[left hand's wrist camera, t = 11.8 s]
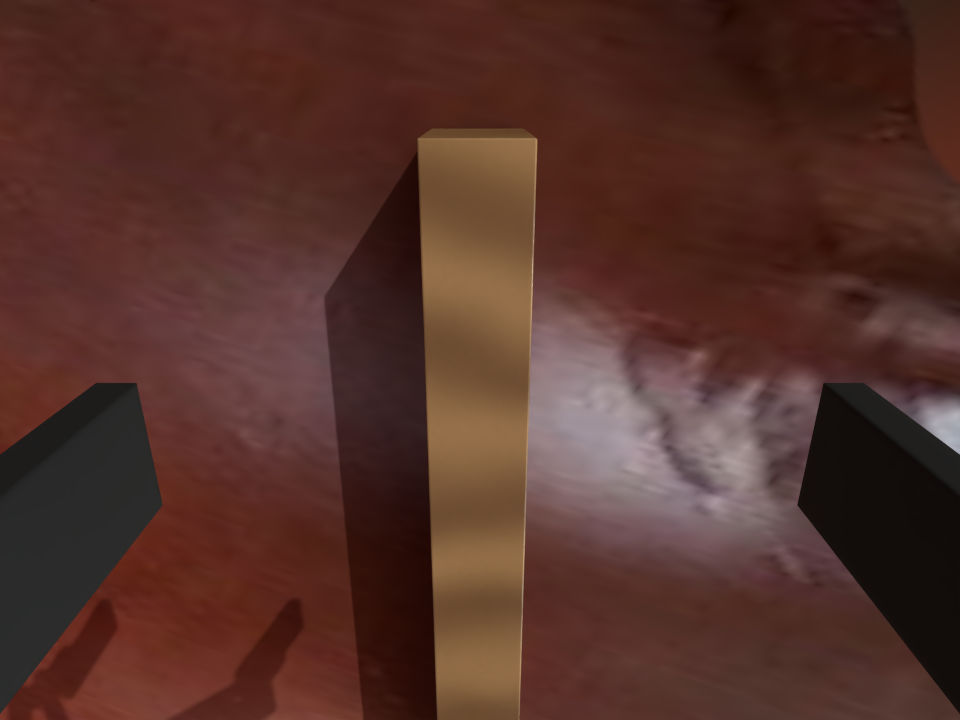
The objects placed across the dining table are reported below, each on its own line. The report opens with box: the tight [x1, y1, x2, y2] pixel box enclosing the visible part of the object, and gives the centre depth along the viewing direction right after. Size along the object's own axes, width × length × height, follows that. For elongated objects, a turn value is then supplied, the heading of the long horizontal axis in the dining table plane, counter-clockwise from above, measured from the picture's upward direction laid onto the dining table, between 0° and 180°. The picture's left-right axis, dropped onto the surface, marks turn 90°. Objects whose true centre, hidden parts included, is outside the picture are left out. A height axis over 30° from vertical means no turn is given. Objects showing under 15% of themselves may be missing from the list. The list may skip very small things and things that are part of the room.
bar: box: [417, 129, 537, 720], centre depth 43 cm, size 66×5×8 cm, turn 0°
